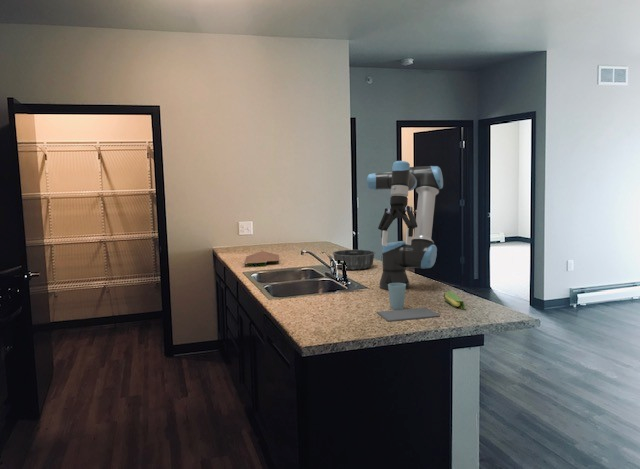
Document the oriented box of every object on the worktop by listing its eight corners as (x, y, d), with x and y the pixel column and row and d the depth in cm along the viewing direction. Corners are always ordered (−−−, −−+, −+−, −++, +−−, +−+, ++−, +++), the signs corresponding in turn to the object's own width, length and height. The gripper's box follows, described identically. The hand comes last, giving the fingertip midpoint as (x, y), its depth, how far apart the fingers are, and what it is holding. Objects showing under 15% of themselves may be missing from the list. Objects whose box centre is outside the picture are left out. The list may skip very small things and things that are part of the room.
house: (279, 258, 384) (278, 247, 383) (279, 266, 351) (279, 254, 350) (246, 260, 382) (246, 248, 381) (244, 268, 349) (243, 255, 348)
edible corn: (453, 290, 244) (444, 288, 243) (468, 302, 224) (458, 299, 223) (450, 301, 244) (441, 299, 244) (465, 313, 224) (454, 311, 224)
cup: (388, 310, 228) (387, 286, 227) (388, 306, 236) (387, 282, 235) (406, 310, 227) (406, 286, 226) (405, 306, 235) (405, 282, 234)
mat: (376, 313, 224) (376, 311, 224) (425, 308, 229) (425, 307, 229) (388, 321, 211) (388, 320, 211) (440, 316, 216) (440, 315, 215)
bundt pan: (375, 264, 347) (375, 248, 346) (375, 271, 321) (375, 254, 320) (334, 264, 349) (334, 249, 348) (331, 272, 323) (331, 255, 322)
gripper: (372, 197, 240) (369, 244, 238) (416, 191, 221) (413, 242, 219) (383, 201, 245) (380, 247, 242) (427, 195, 226) (424, 245, 223)
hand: (396, 245), depth 230 cm, fingers open, 13 cm apart
